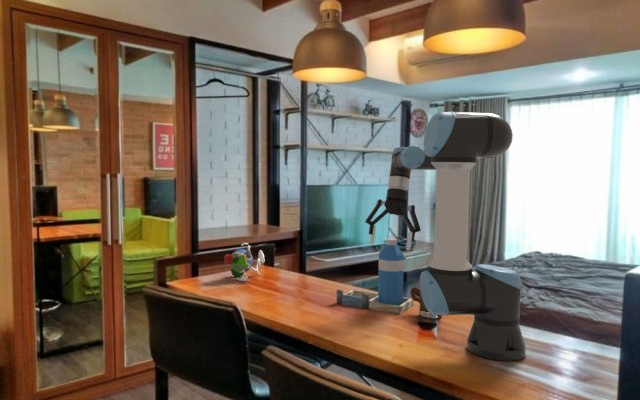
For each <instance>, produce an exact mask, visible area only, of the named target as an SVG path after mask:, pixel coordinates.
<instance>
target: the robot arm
mask: <svg viewBox="0 0 640 400" xmlns="http://www.w3.org/2000/svg"><path fill="white" fill-rule="evenodd" d="M512 142H513V130H512V128H511V125H510V124H509V122H508V121H507V120H506V119H504V118H503V117H502V116H500V115H497V114H495V113H490V112H470V111H469V112H467V111H464V112H463V111H444V112H437V113H435V114H433V116H432V117H431V118H430V119H429V120H428V123H427V125H426V128H425V132H424V137H423V147H421V146H419V145H410V146H409V145H408V146H407V147H406V146H399V147H395V148H393V150H392V151H393V152H392V155H391V163H390V170H389V171H390V172H389V176H388V177H389V178H388V184H387V185H388V186H387V188H388V189H387V191H386V197H385V201H384V200H382V199H378V200H377V201H376V204H375V206H374V208H373V209H372V211H371V212H370V214H369V215H368V216H367V218H366V219H365V220H364V221H365V222H364V223H366V224H368V225H369V227H368V235H370V240H369V244H370V245H374V243H375V236H376V231H377V230H376V229H377V226H376V224H377V223H378V222H379V221H381V220H382V219H383V218H384V217H385V216H386V215H388V214H389V215H395V216H400V217H401V218H402V220H403V222H404V223H405V224H406V227H407V228H408V230H409V232H407V233H408V234H407V238H406V239H407V240H406V246H405V250H406V251H411V247H412V242H414V241H415V237H416V236H415V235H416V233H418V232H419V233H420V232H421V226H420V223H419V221H418V217H417V214H416V210H415V209H416V205H414V204H411V205H408V204H407V202H408V196H409V195H408V194H409V188H410V187H409V186H410V181H411V173H412V171H414V170H416V171H417V170H419V171H420V170H422V171H423V170H425V171H426V170H427V171H428V170H429V171H430V170H431V171H432V170H433V171H435V170H436V173H435V174H436V175H435V177H436V179H435V204H434V205H435V209H434V241H433V243H434V245H433V258H432V259H431V260H430V261H428V263H427V270H424V271H422V272H421V273H420V276H419V288H420V291H421V296H422V300H423V302H424V305H425V307H426V308H427V310H428V311H429V312H430V313H432V314H434V315H442V316H446V317H447V316H460V315H465V316H466V315H473V317H474V318H473V322H472V325H471V328H470V331H469V332H468V336H467V339H466V349H467V350H468V351H469V352H470V353H472V354H473V355H476V356H478V357H482V358H484V359H488V360H494V361H502V362H504V361H505V362H511V361H517V360H522V359H524V358H525V357H526V351H527V350H526V348H527V347H526V344H525V340H524V337H523V334H522V333H523V332H522V329H521V327H520V312H521V292H522V291H521V290H522V285H521V284H522V282H521V276H520V274H519V272H517V271H516V270H512V269H510V268H507V267H503V266H502V267H501V266H497V265H491V264H483V263H479V264H475V267H474V270H473V264H471V263H470V262H469V261H468V242H469V241H468V237H469V236H468V235H469V211H470V210H469V209H470V208H469V207H470V187H471V186H470V183H471V182H470V181H471V179H470V178H471V170H472V169H473V168H474V167H475V166H476V165H477V160H478V159H481V158H483V159H484V158H485V159H492V158H496V157H499V156H501V155H503V154H504V153H506V152H507V151H508V150H509V148H510V146H511V144H512ZM383 205H384V207H385V209H384V210H383V211H381V213H380V214H379V215H377V216H376V217H375V215H376V214H377V212H378V211H379V209H380V208H381V207H382V206H383ZM406 210H407V211H408V212H409V215H410V218H411V220H410V219H409V216H408V215H407V213H406ZM374 217H375V218H374ZM373 218H374V219H373ZM411 221H412V222H411Z"/></svg>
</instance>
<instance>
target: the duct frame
mask: <svg viewBox="0 0 640 400" xmlns="http://www.w3.org/2000/svg"><path fill="white" fill-rule="evenodd" d="M336 304H337V305H344V306H351V307H356V308H361V309H365V310H366V309H369V310H373V311H380V312H384V313H385V312H386V313H391V314H398V315H401V314H402V313H403V314H404V313H405V312H406V311H408V310H409V309H410V308H412V307H413V306H414V299H413V298H412V297H411V298H410V297H405V296H403V304H401V305H400V306H396V305H390V304H384V303H378V292H371V291H364V290H358V289H357V290H356V289H352V290H349V291H348V292H345V293H344V289H340V288H339V289H338V288H337V289H336Z"/></svg>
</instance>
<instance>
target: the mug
mask: <svg viewBox="0 0 640 400" xmlns="http://www.w3.org/2000/svg"><path fill="white" fill-rule="evenodd" d="M409 292H410V297H411V298H412V299H413V301H415V302H418V304H419V312H420V311H425V312H429V311H428V310H427V308H426V307H425V305H424V302H423V300H422V296H421V291H420V286H413V287H411V289H410V291H409ZM416 292H417V293H418V294H419V296H418V295H417V294H416ZM437 316H438V318H439V319H441V318H442V316H443V315H437Z"/></svg>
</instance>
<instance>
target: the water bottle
mask: <svg viewBox="0 0 640 400" xmlns="http://www.w3.org/2000/svg"><path fill="white" fill-rule="evenodd" d="M404 261H405V256H404V254H403V252H402V251H401V249H400V247H399V246H398V239H397V238H389V237H388V238H385V244H384V246H383V247H382V249H381V250H380V251H379V252H378V275H377V277H378V280H377V281H378V282H377V283H378V284H377V285H378V286H377V289H378V290H377V293H378V303H384V304H390V305H396V306H400V305H401V304H403V297H404V264H405V262H404Z"/></svg>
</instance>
